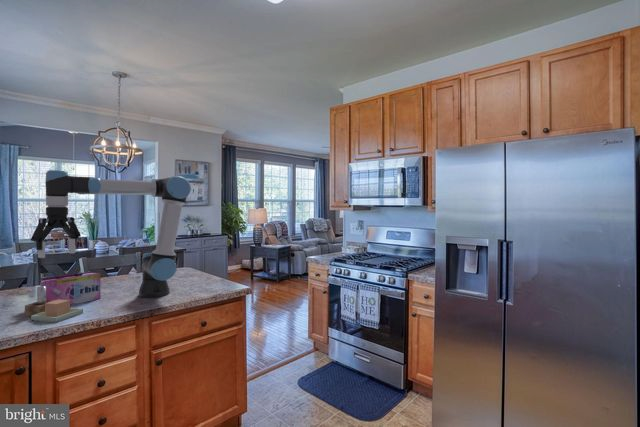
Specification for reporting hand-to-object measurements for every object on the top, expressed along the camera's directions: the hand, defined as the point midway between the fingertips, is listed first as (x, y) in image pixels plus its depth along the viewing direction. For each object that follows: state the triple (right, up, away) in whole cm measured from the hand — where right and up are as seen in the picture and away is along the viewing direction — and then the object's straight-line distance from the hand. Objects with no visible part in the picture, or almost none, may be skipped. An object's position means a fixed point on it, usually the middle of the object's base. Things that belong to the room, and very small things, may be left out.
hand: (57, 255), depth 142 cm
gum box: (-10, -27, +22) cm, 36 cm away
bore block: (-11, -27, +5) cm, 29 cm away
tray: (0, -27, +1) cm, 27 cm away
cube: (0, -26, +1) cm, 26 cm away
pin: (-11, -27, +5) cm, 29 cm away
